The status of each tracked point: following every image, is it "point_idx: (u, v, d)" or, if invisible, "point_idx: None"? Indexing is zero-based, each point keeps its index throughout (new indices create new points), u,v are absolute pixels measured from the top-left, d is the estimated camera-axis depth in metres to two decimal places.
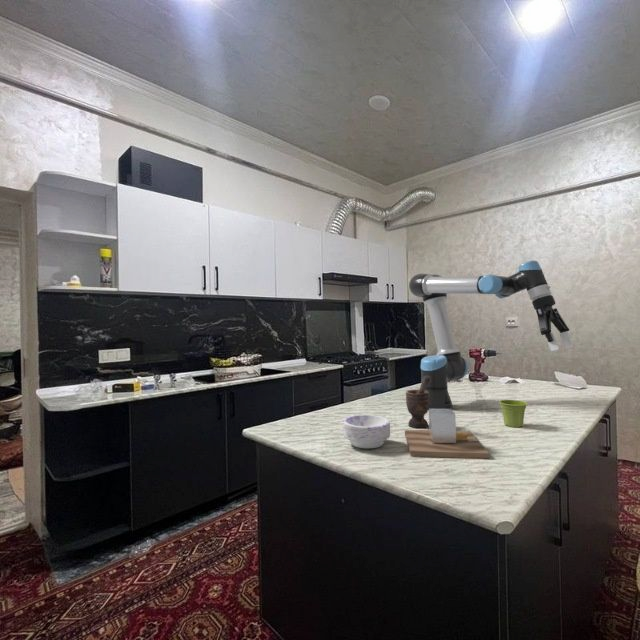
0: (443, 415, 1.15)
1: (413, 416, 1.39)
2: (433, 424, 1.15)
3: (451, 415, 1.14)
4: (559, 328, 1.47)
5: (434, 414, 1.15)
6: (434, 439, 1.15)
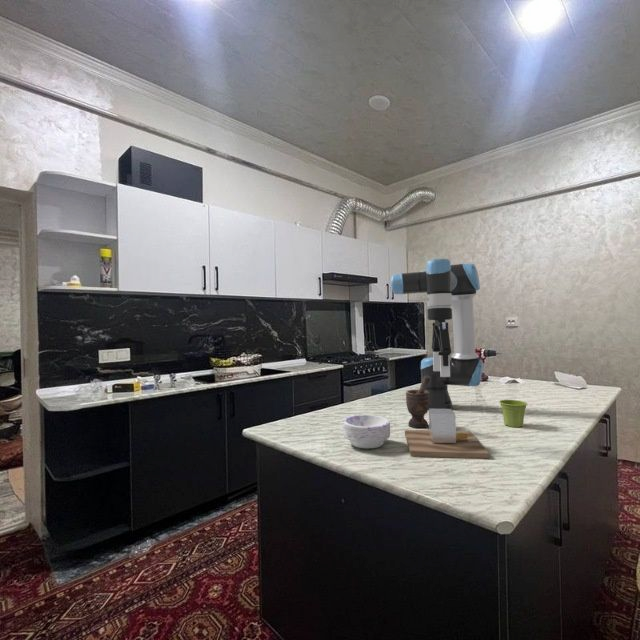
0: (443, 415, 1.15)
1: (413, 416, 1.39)
2: (433, 424, 1.15)
3: (451, 415, 1.14)
4: None
5: (434, 414, 1.15)
6: (434, 439, 1.15)
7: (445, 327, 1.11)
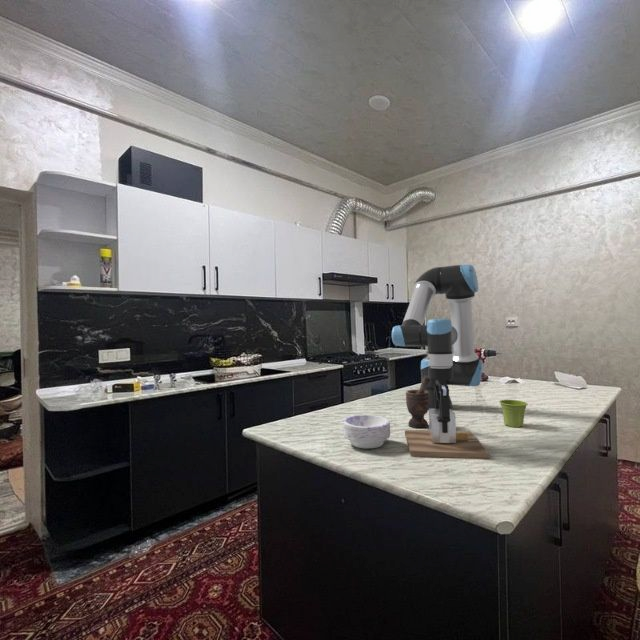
0: None
1: (413, 416, 1.39)
2: (433, 424, 1.15)
3: (451, 415, 1.14)
4: None
5: (434, 414, 1.15)
6: (434, 439, 1.15)
7: (446, 394, 1.12)
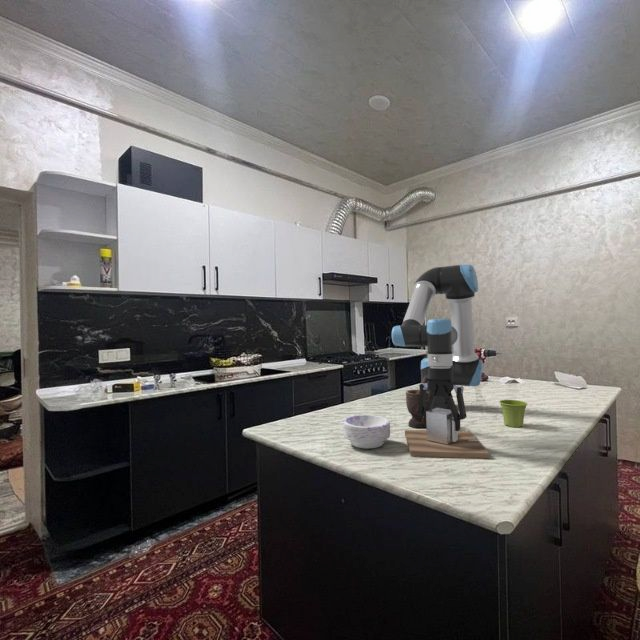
0: (451, 414, 1.15)
1: (413, 416, 1.39)
2: (447, 425, 1.13)
3: None
4: None
5: (447, 415, 1.14)
6: (448, 440, 1.13)
7: (462, 392, 1.14)
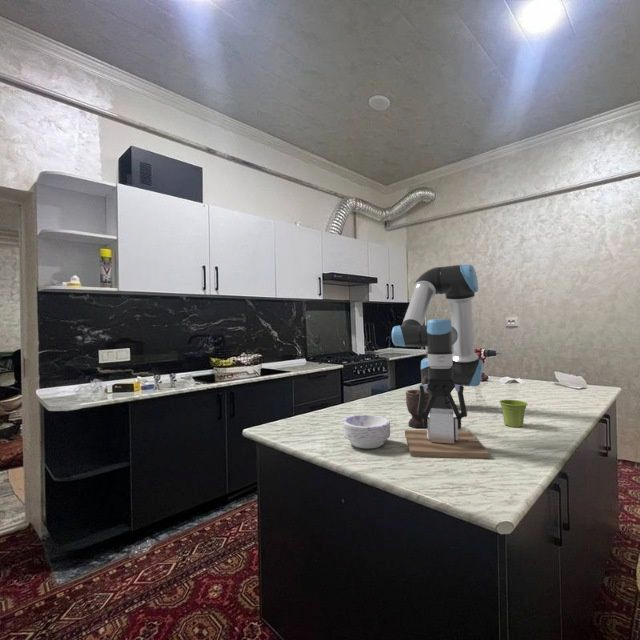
0: None
1: (413, 416, 1.39)
2: (453, 424, 1.14)
3: None
4: (453, 410, 1.18)
5: None
6: None
7: None
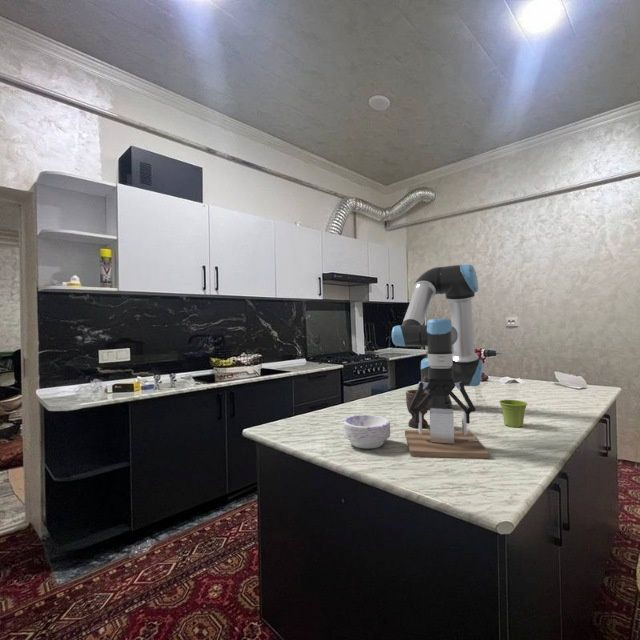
0: None
1: (413, 416, 1.39)
2: (453, 424, 1.14)
3: None
4: None
5: None
6: None
7: None
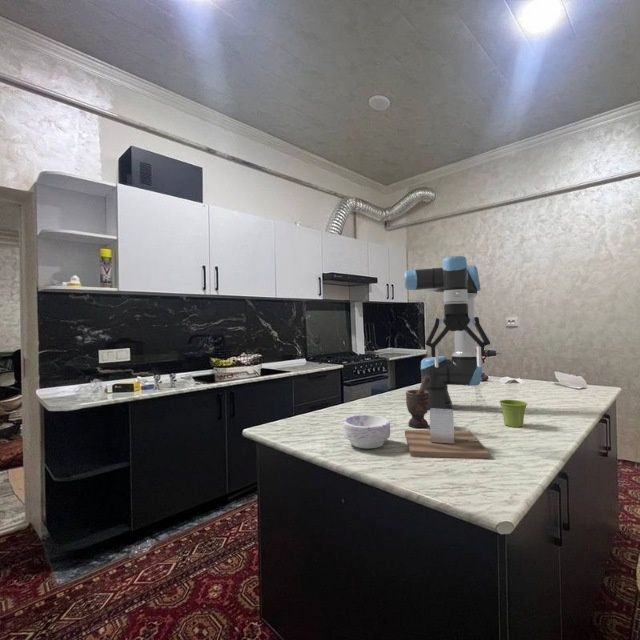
0: None
1: (413, 416, 1.39)
2: (453, 424, 1.14)
3: None
4: (475, 341, 1.22)
5: None
6: None
7: None
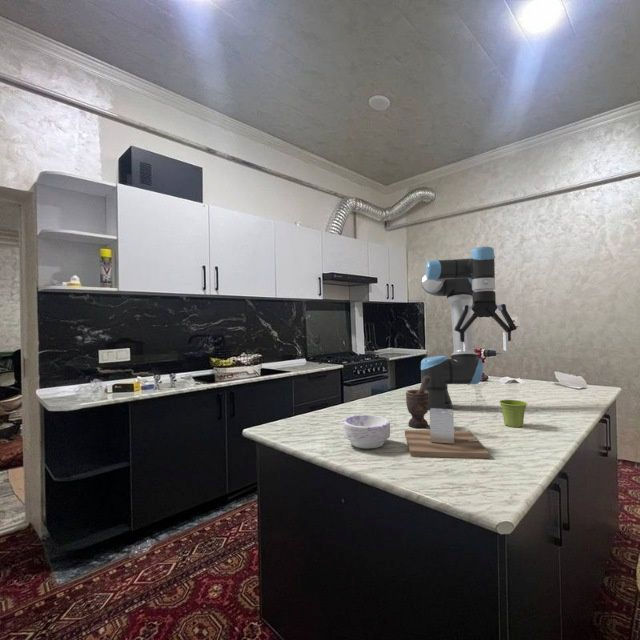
0: None
1: (413, 416, 1.39)
2: (453, 424, 1.14)
3: None
4: (502, 327, 1.30)
5: None
6: None
7: None
